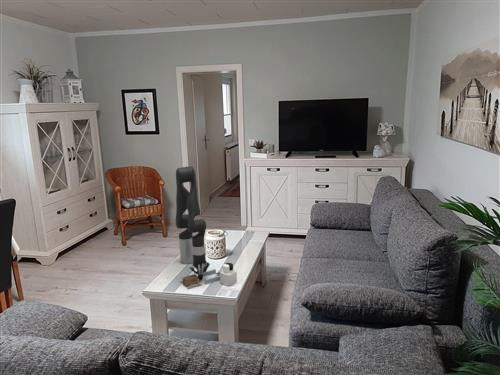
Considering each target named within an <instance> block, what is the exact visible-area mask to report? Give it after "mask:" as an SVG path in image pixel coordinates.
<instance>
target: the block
mask: <svg viewBox="0 0 500 375" xmlns="http://www.w3.org/2000/svg"><path fill="white" fill-rule="evenodd" d="M182 281H183V283H182V286H184V287H185V288H187V287H191V286H194V285H198V284H199V279H198V274H197V275H196V274H195V273H194V274H190V275H187V276H183V277H182Z"/></svg>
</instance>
